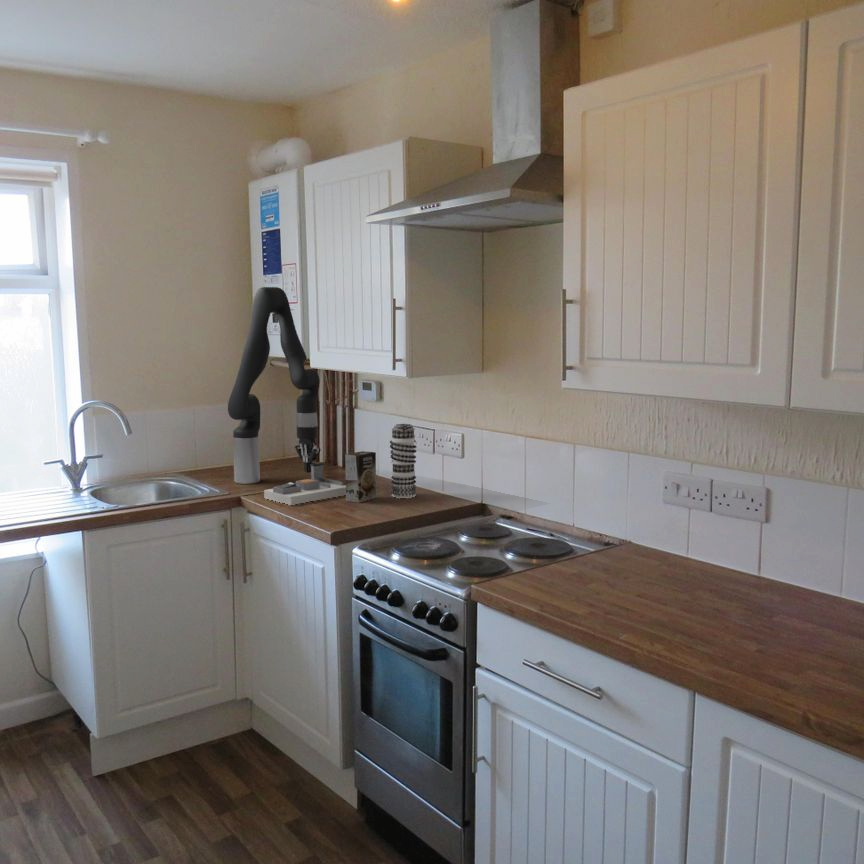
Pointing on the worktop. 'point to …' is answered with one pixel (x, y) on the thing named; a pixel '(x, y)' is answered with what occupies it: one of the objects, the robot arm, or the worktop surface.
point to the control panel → (306, 492)
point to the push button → (307, 481)
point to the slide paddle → (317, 471)
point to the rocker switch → (287, 485)
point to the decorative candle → (403, 461)
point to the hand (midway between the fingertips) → (308, 472)
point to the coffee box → (360, 476)
